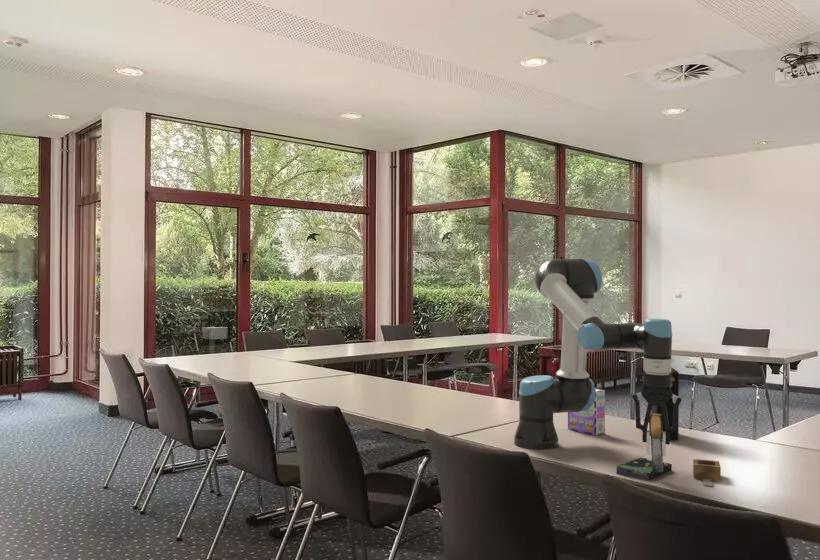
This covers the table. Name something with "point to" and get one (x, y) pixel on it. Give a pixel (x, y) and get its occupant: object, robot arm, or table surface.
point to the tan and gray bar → (656, 441)
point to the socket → (706, 469)
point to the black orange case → (670, 405)
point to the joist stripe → (707, 482)
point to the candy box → (590, 417)
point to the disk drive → (642, 469)
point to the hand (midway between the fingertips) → (655, 454)
